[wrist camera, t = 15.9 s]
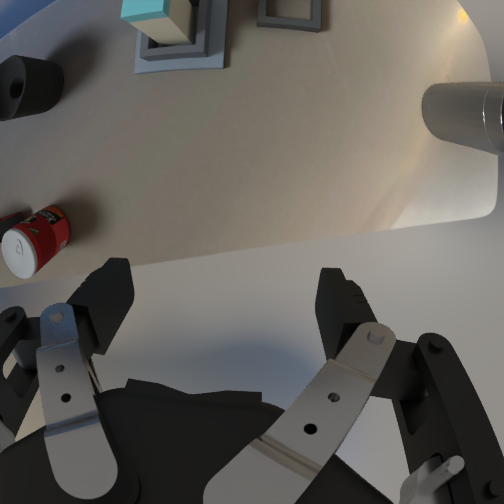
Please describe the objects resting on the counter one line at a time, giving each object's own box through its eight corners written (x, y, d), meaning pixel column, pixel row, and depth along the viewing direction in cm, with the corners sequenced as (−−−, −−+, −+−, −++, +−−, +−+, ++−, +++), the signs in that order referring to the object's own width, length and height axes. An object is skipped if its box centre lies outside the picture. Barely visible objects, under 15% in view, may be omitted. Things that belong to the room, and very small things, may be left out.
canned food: (68, 205, 41) (28, 230, 31) (74, 249, 44) (40, 282, 34) (36, 205, 40) (-4, 229, 30) (43, 246, 44) (8, 276, 34)
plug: (195, 12, 28) (169, -32, 16) (192, 44, 30) (162, 10, 18) (166, 15, 28) (128, -24, 15) (163, 46, 30) (120, 17, 18)
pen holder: (41, 53, 29) (2, 48, 20) (76, 71, 31) (36, 66, 22) (18, 103, 32) (-22, 107, 23) (50, 124, 35) (9, 131, 26)
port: (228, -7, 28) (226, -20, 24) (223, 68, 33) (220, 62, 29) (144, 1, 27) (132, -9, 23) (136, 74, 33) (124, 70, 29)
